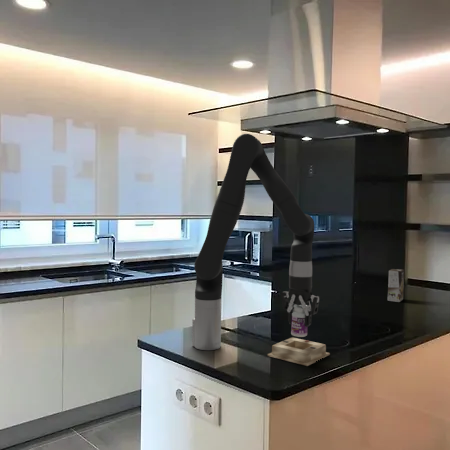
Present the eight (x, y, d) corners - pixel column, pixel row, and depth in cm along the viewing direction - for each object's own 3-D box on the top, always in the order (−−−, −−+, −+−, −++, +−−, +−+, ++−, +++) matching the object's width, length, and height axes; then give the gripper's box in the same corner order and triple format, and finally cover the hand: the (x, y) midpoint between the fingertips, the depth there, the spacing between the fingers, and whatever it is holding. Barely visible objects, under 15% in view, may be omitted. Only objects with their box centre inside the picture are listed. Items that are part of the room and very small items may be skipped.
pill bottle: (289, 336, 162) (290, 307, 162) (293, 332, 167) (293, 304, 167) (305, 338, 160) (306, 308, 160) (308, 334, 165) (309, 305, 165)
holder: (267, 356, 163) (267, 344, 163) (291, 346, 175) (291, 335, 175) (307, 366, 154) (307, 354, 153) (329, 354, 165) (330, 343, 165)
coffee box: (400, 302, 255) (401, 271, 254) (387, 300, 258) (388, 270, 257) (403, 299, 263) (404, 269, 262) (391, 298, 266) (392, 268, 265)
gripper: (325, 275, 161) (324, 326, 162) (287, 270, 170) (286, 319, 171) (314, 278, 155) (313, 331, 156) (276, 273, 164) (274, 323, 165)
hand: (299, 324), depth 164 cm, fingers closed on pill bottle, 5 cm apart
